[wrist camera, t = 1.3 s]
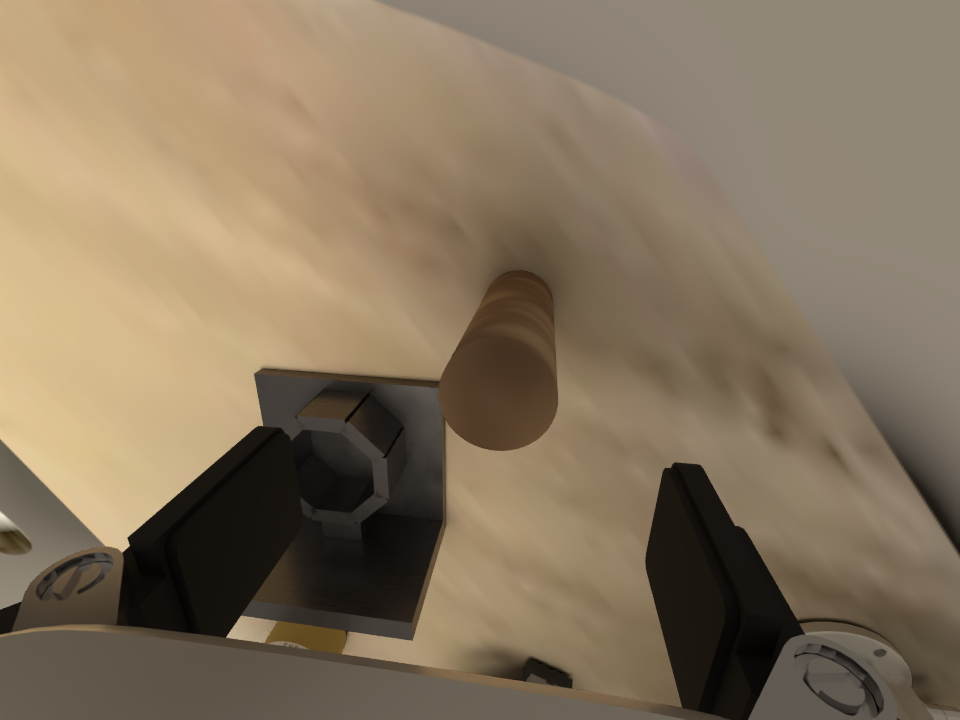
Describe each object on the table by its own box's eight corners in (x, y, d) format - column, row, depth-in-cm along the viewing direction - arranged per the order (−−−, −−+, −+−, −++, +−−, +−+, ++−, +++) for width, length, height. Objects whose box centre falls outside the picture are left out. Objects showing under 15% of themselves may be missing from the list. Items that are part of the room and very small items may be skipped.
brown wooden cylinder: (555, 272, 28) (563, 346, 15) (549, 338, 30) (553, 456, 17) (486, 269, 29) (437, 338, 16) (484, 334, 30) (438, 445, 18)
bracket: (445, 526, 37) (412, 640, 28) (286, 508, 39) (204, 609, 29) (444, 382, 32) (403, 462, 23) (262, 368, 34) (155, 437, 25)
